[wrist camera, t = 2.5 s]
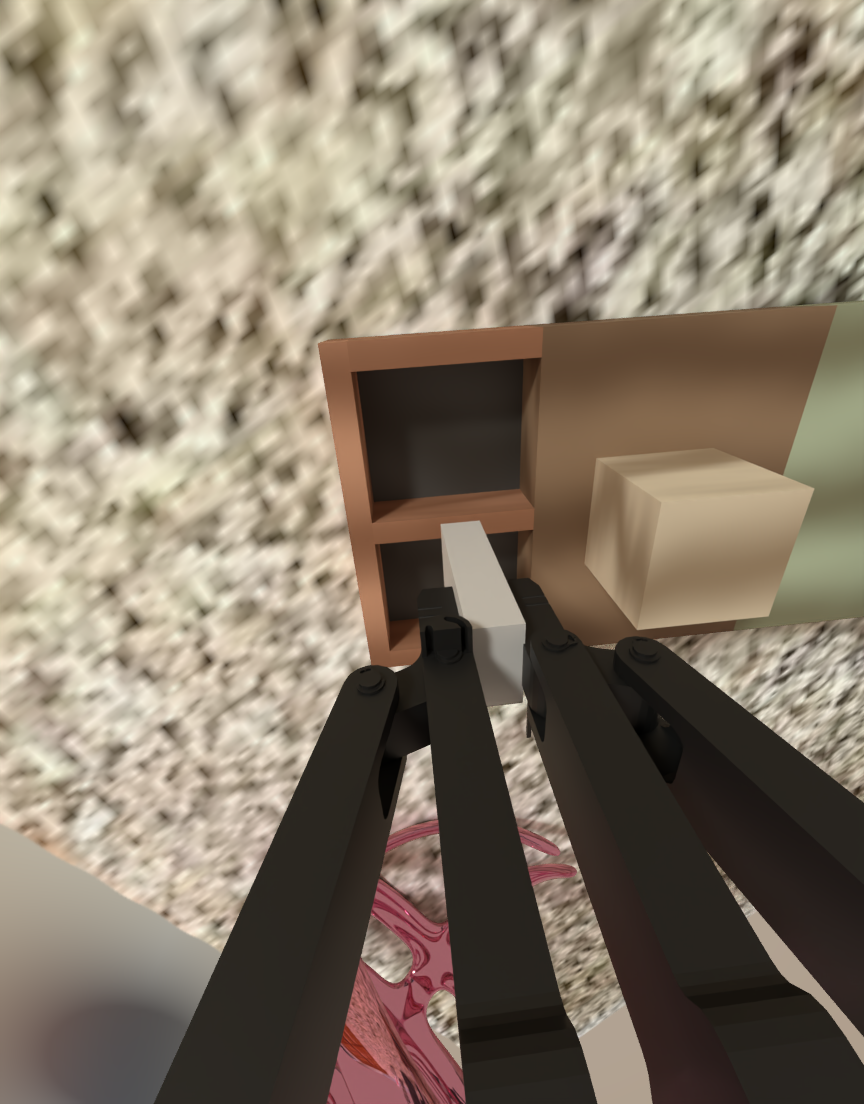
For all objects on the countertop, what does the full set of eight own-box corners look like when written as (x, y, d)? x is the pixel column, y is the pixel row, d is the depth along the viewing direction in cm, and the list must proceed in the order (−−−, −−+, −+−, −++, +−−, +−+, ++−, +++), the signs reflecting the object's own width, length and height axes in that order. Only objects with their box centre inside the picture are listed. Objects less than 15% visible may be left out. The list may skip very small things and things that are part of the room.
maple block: (596, 458, 18) (661, 502, 14) (713, 447, 19) (814, 488, 14) (584, 563, 21) (637, 630, 16) (688, 553, 21) (768, 616, 16)
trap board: (328, 339, 18) (302, 348, 13) (973, 292, 19) (1192, 282, 14) (374, 632, 25) (369, 715, 20) (844, 583, 26) (959, 650, 21)
